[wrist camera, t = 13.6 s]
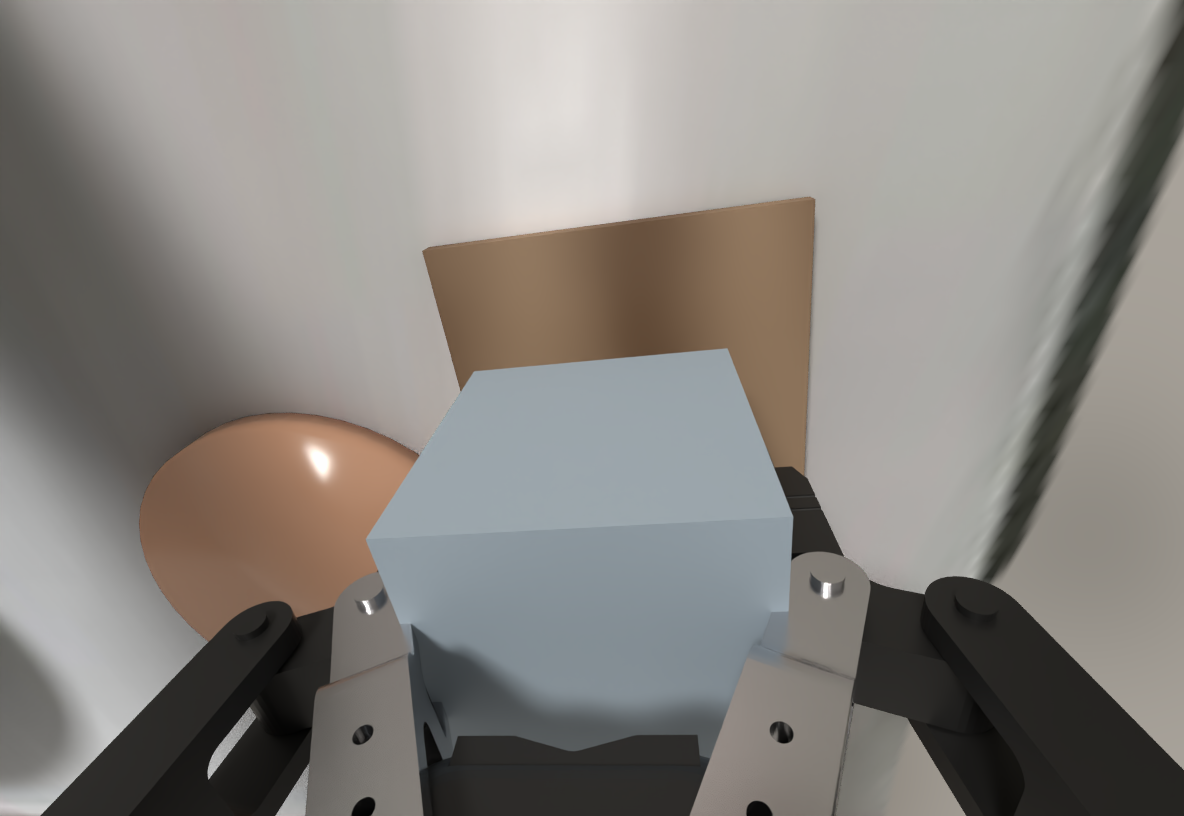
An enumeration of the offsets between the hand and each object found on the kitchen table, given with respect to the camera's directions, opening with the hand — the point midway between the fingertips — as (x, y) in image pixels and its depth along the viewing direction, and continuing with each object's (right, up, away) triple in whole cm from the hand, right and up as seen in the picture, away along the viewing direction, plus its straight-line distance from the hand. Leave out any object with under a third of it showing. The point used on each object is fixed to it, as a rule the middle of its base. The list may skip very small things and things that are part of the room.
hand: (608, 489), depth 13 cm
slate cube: (0, 0, +1) cm, 1 cm away
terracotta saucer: (-10, -4, +8) cm, 13 cm away
